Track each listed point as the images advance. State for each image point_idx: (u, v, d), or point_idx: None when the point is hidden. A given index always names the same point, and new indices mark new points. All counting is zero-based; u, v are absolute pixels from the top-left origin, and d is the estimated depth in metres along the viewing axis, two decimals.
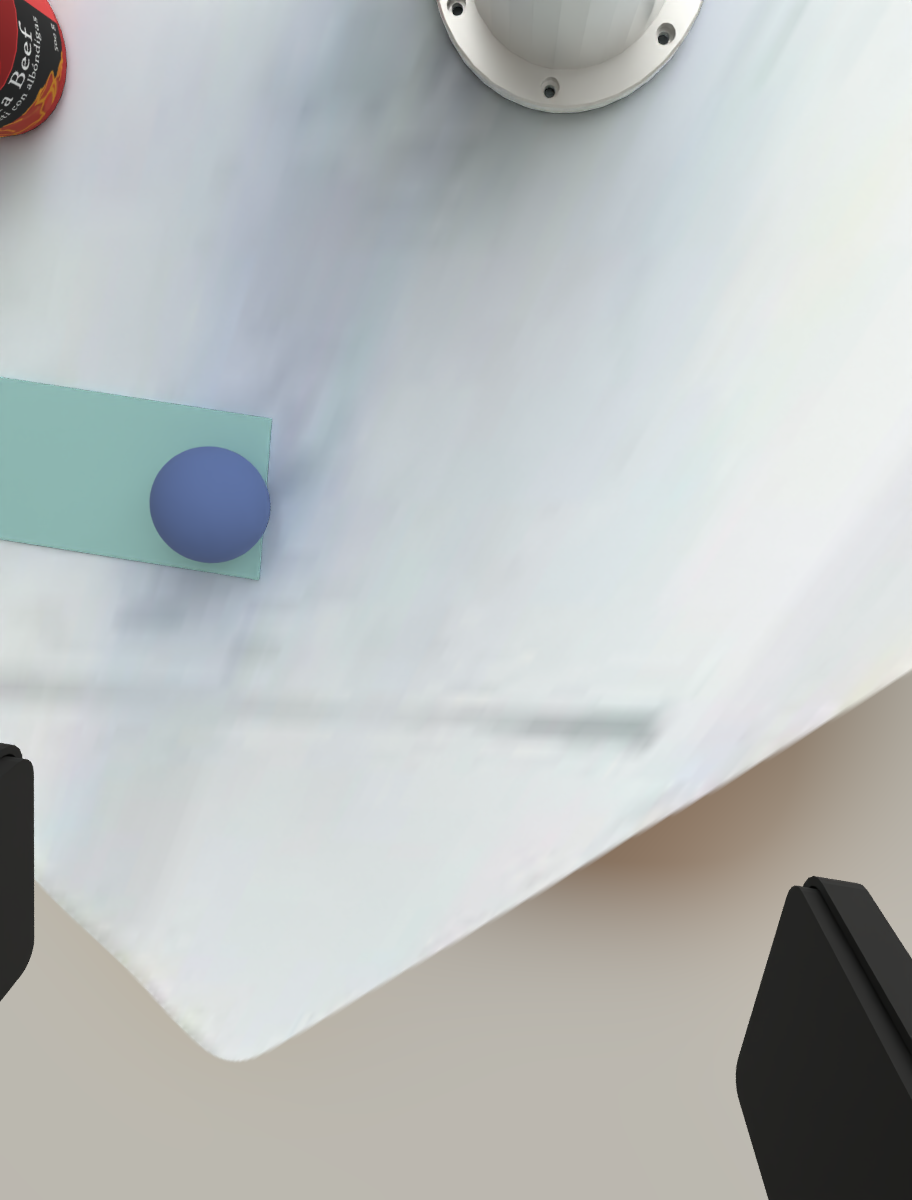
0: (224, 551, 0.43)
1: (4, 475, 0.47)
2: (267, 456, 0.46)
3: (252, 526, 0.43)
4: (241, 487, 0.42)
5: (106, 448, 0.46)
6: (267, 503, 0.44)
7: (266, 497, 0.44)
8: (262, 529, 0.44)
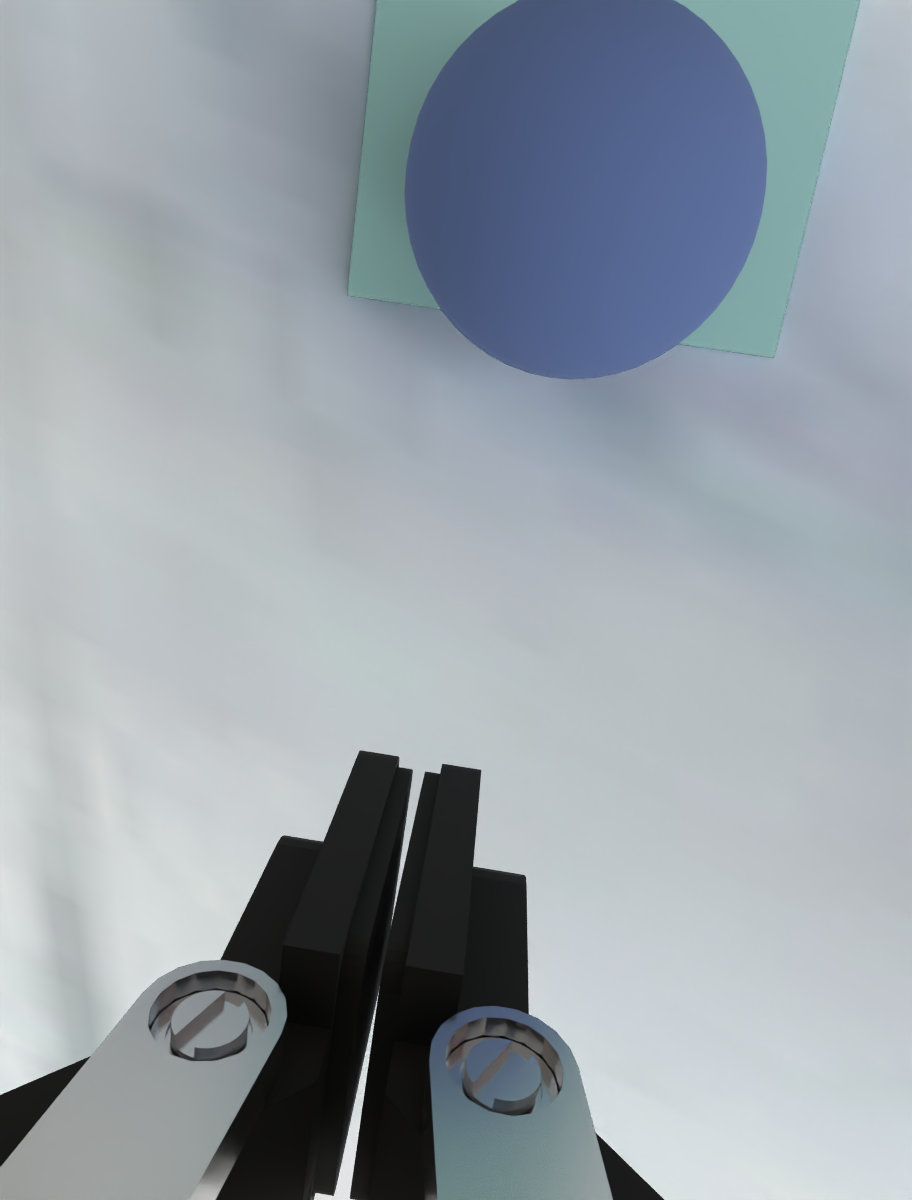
0: (450, 259, 0.13)
1: None
2: None
3: (528, 351, 0.14)
4: (654, 329, 0.13)
5: None
6: (580, 378, 0.15)
7: (598, 376, 0.15)
8: (507, 363, 0.15)
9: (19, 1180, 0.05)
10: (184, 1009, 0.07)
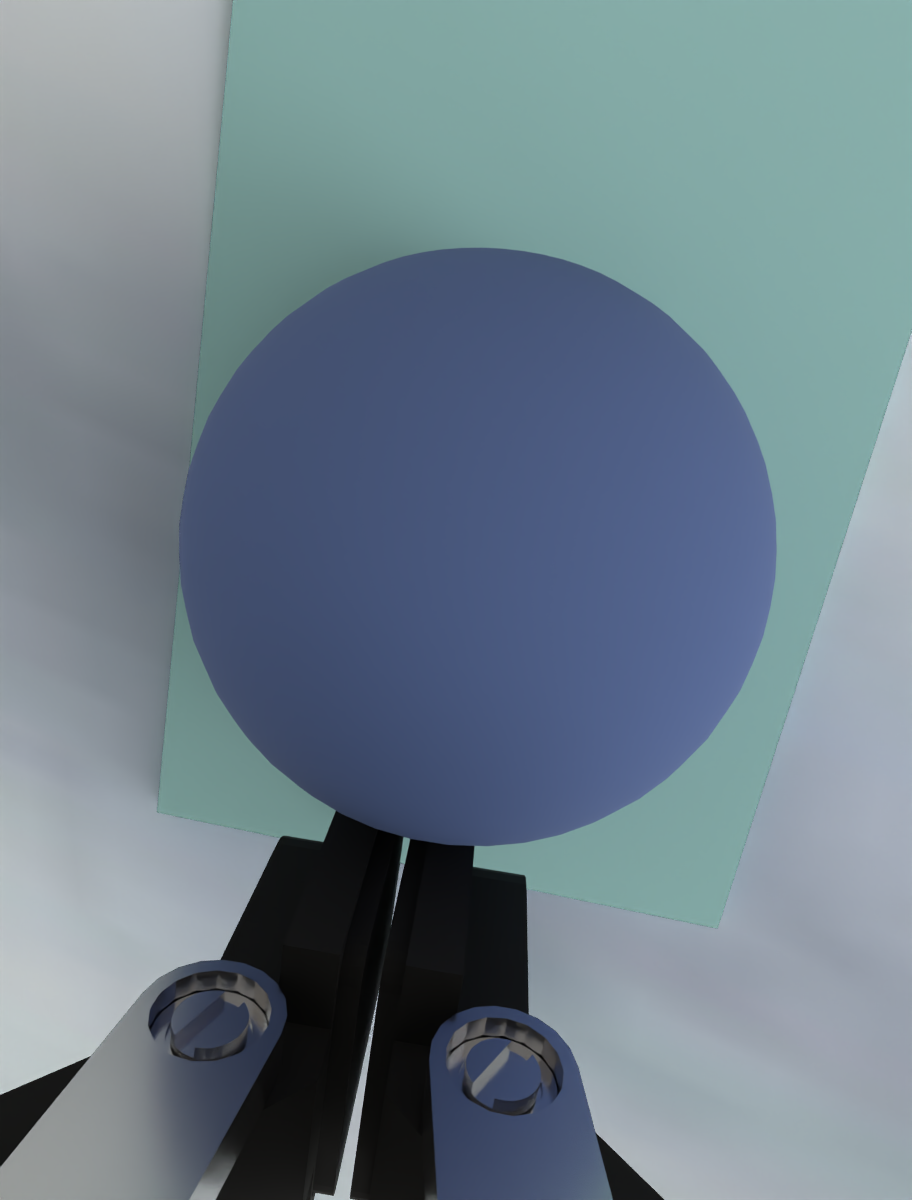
0: (231, 474, 0.07)
1: None
2: (591, 898, 0.13)
3: (360, 656, 0.06)
4: (630, 624, 0.06)
5: (679, 299, 0.11)
6: (470, 809, 0.07)
7: (508, 808, 0.07)
8: (317, 749, 0.07)
9: (19, 1180, 0.05)
10: (184, 1009, 0.07)
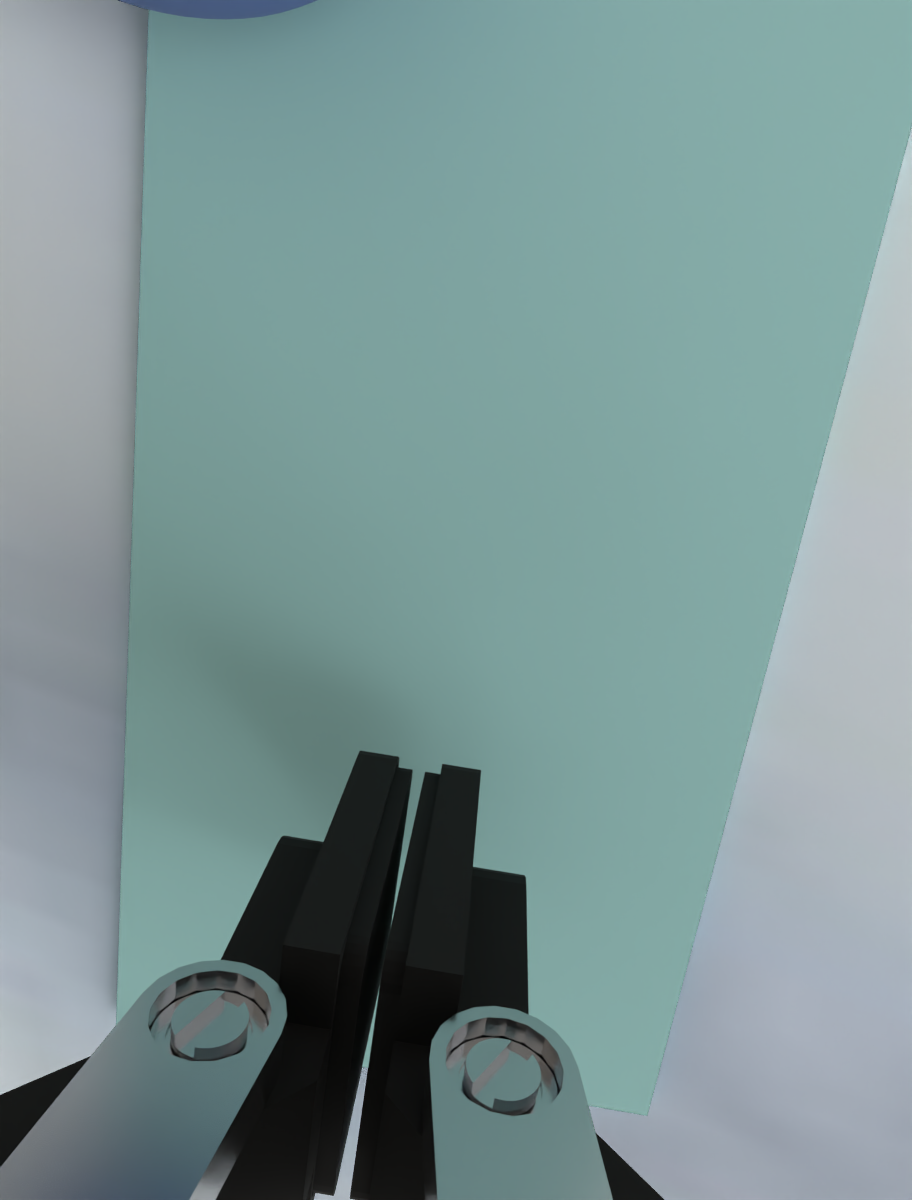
0: None
1: (455, 74, 0.10)
2: None
3: None
4: None
5: (569, 574, 0.12)
6: None
7: None
8: None
9: (19, 1180, 0.05)
10: (184, 1009, 0.07)
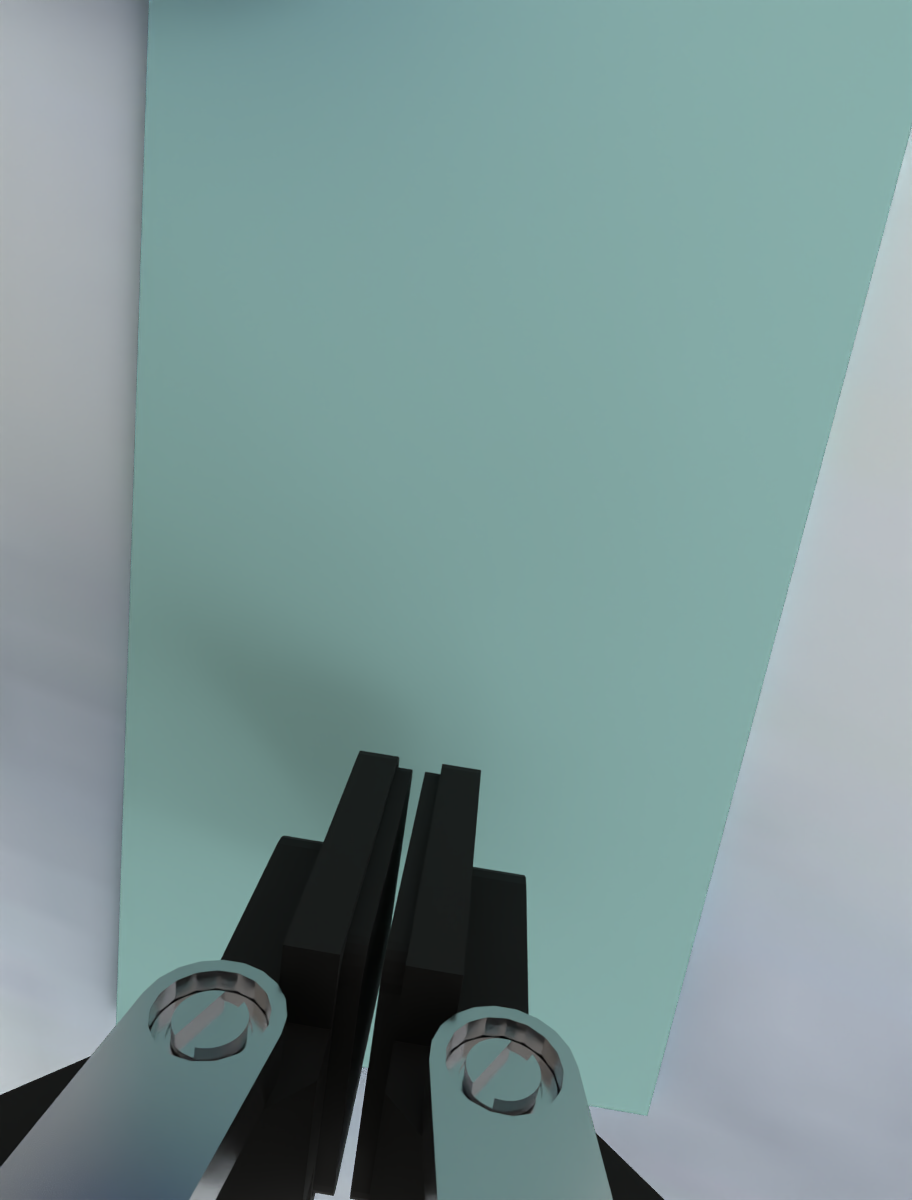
0: None
1: (455, 74, 0.10)
2: None
3: None
4: None
5: (569, 574, 0.12)
6: None
7: None
8: None
9: (19, 1180, 0.05)
10: (184, 1009, 0.07)
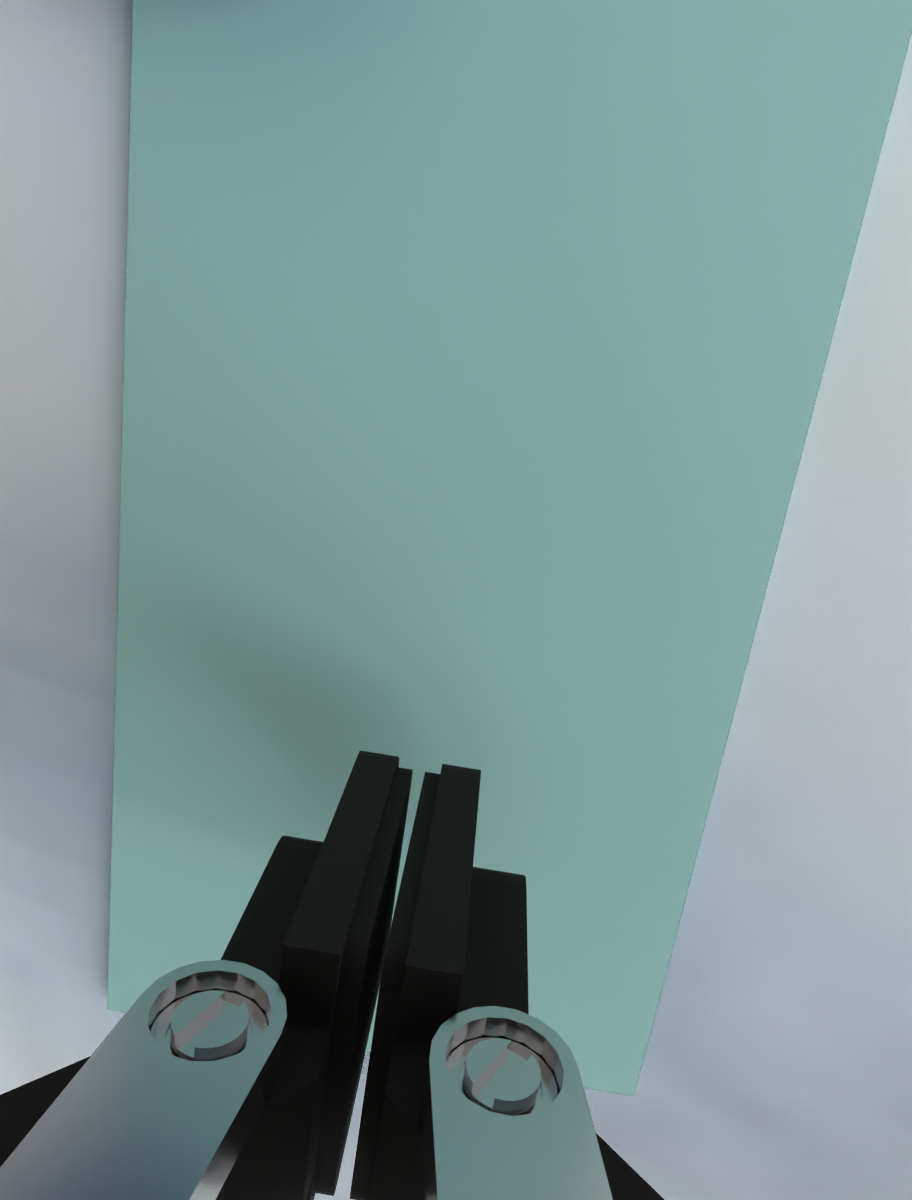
0: None
1: (439, 60, 0.10)
2: None
3: None
4: None
5: (554, 559, 0.12)
6: None
7: None
8: None
9: (19, 1180, 0.05)
10: (184, 1009, 0.07)
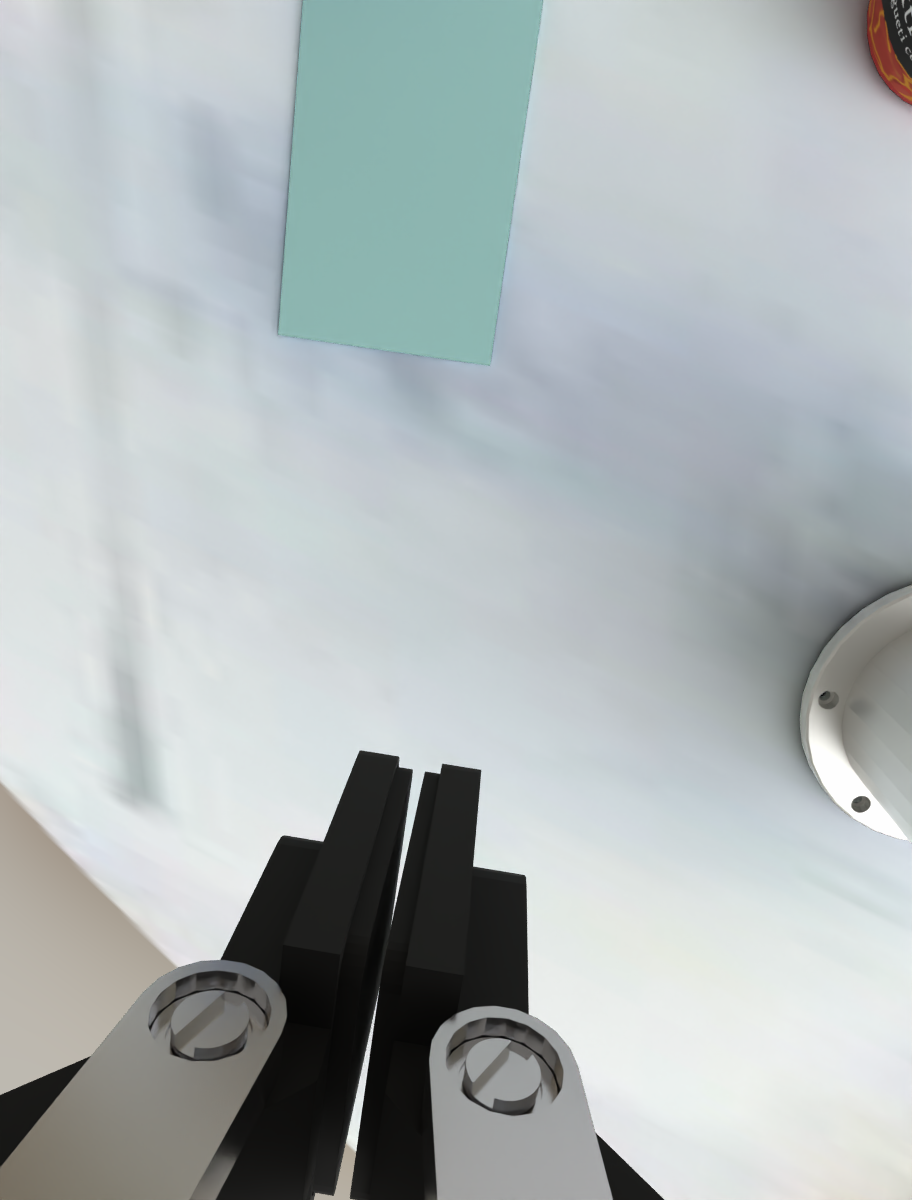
0: None
1: None
2: (442, 357, 0.36)
3: None
4: None
5: (449, 119, 0.33)
6: None
7: None
8: None
9: (19, 1180, 0.05)
10: (184, 1009, 0.07)
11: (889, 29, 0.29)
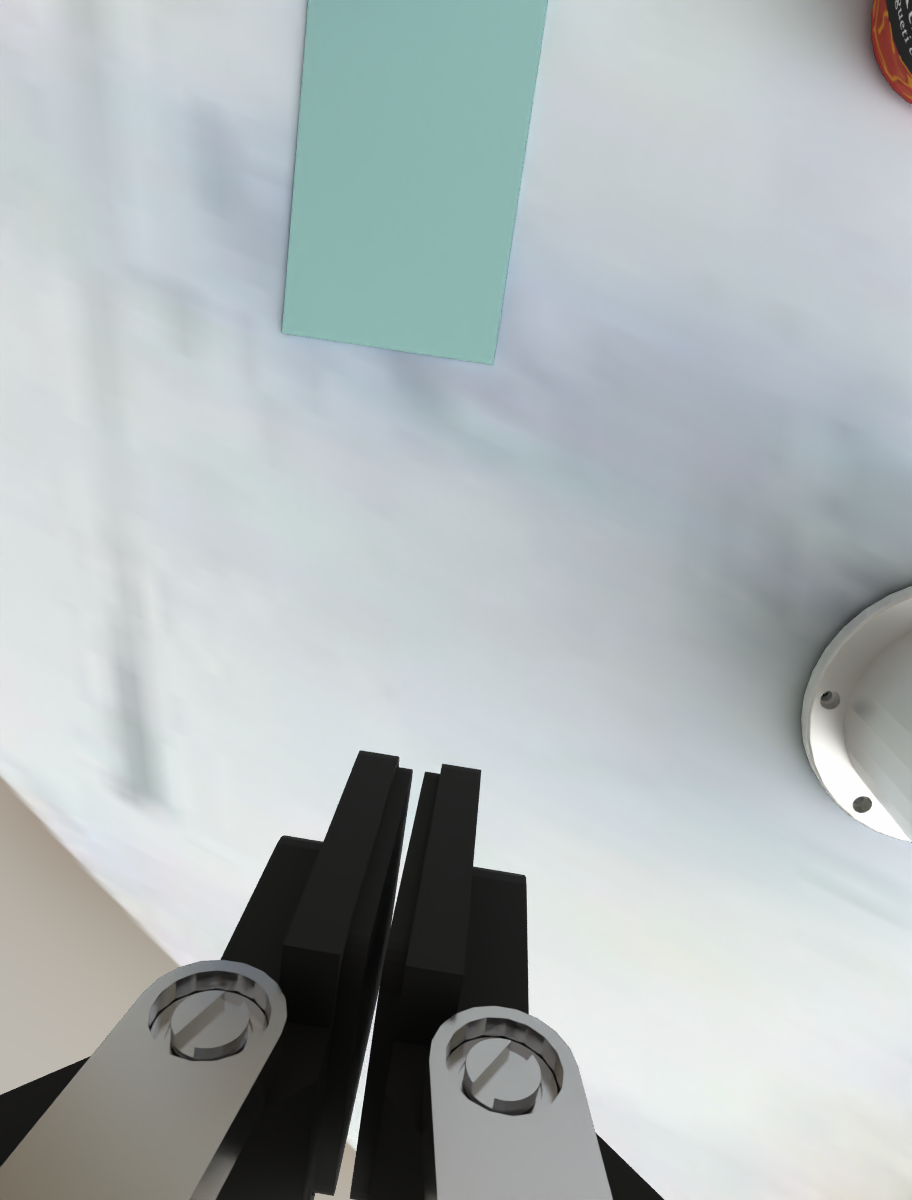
0: None
1: None
2: (445, 356, 0.36)
3: None
4: None
5: (454, 118, 0.33)
6: None
7: None
8: None
9: (19, 1180, 0.05)
10: (184, 1009, 0.07)
11: (893, 30, 0.29)
